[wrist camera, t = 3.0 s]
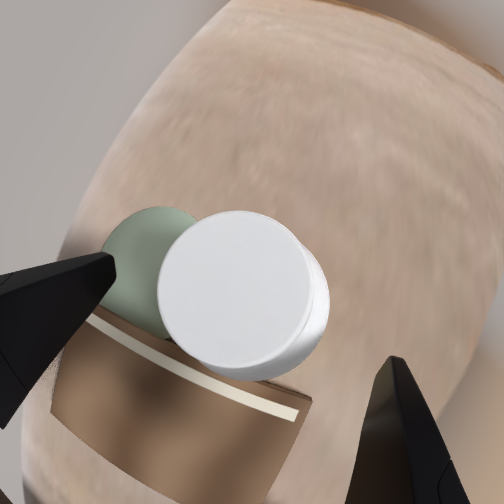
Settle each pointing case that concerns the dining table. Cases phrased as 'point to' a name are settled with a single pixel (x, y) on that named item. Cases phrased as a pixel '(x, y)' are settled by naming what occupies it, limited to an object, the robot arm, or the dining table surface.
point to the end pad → (142, 264)
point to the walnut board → (173, 415)
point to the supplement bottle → (243, 296)
